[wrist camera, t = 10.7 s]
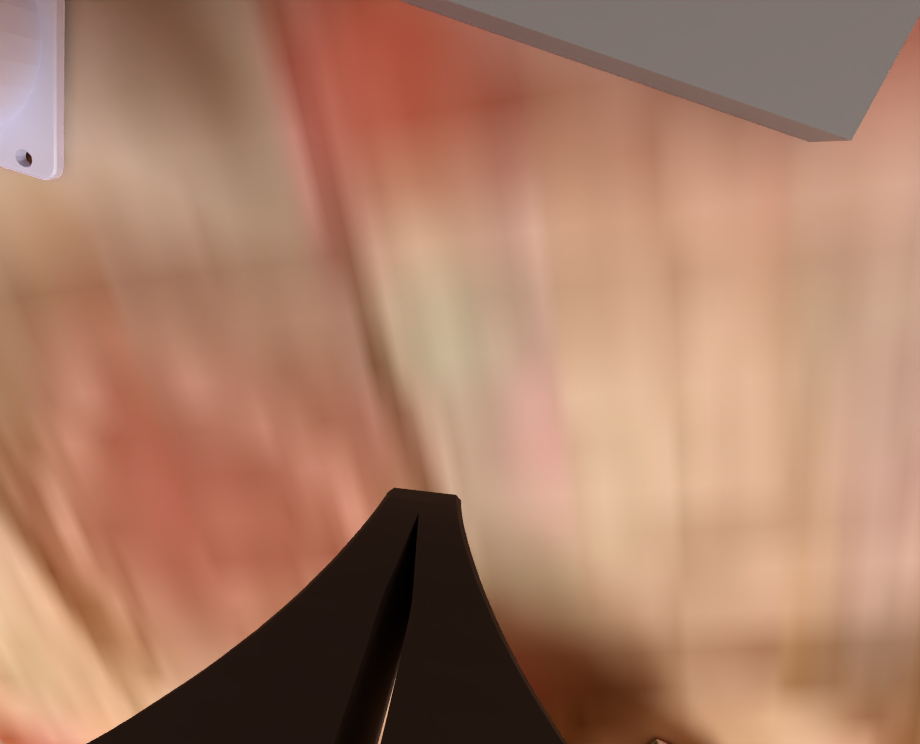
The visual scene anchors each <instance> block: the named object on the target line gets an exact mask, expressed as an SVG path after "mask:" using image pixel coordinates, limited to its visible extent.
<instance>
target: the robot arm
mask: <svg viewBox="0 0 920 744" xmlns="http://www.w3.org/2000/svg"><path fill="white" fill-rule="evenodd" d="M64 41H65V0H0V167H3V168H7V169H10V170H13V171H16V172H19V173H23V174H26V175H29V176H32V177H35V178H38V179H43V180H54V179H57V178H59V177H60V176H61V175H62V174H63V169H64ZM27 152H28V153H29V154H30V155H31V157H32V164H31V165H30V164H29V162H28V161H27V159H26V153H27ZM397 670H398V671H397ZM396 674H397V675H396ZM395 678H396V680H395ZM394 681H395V684H394ZM393 685H394V689H393ZM392 689H393V693H392V698H391V702H390V707H389V711H388V715H387V719H386V723H385V728H384V732H383V736H382V740H381V744H567V743H566V741H565V740H564V738H563V737H562V735H561V734H560V732H559V730H558V729H557V727H556V726H555V724H554V723H553V721H552V720H551V718H550V716H549V715H548V713H547V712H546V710H545V709H544V707H543V706H542V704H541V702H540V701H539V699H538V698H537V696H536V694H535V693H534V691H533V689H532V687H531V686H530V684H529V682H528V680H527V679H526V677H525V675H524V673H523V671H522V670H521V668H520V666H519V664H518V662H517V660H516V658H515V657H514V655H513V653H512V651H511V649H510V647H509V645H508V643H507V641H506V639H505V637H504V635H503V633H502V631H501V629H500V626H499V624H498V622H497V620H496V618H495V615H494V613H493V611H492V608H491V606H490V604H489V601H488V599H487V596H486V594H485V591H484V589H483V586H482V584H481V581H480V578H479V575H478V572H477V569H476V566H475V564H474V561H473V558H472V555H471V551H470V548H469V545H468V541H467V537H466V533H465V529H464V524H463V519H462V511H461V500H460V499H459V498H458V497H457V495H452V494H443V493H434V492H426V491H417V490H409V489H400V488H393V489H392V490H390V491H389V492H388V493H387V494H386V496H385V497H384V499H383V500H382V502H381V503H380V505H379V506H378V507H377V509H376V510H375V511H374V512H373V514H372V515H371V516H370V518H369V519H368V520H367V521H366V523H365V524H364V525H363V526H362V527H361V529H360V530H359V531H358V532H357V533H356V534H355V536H354V537H353V538H352V539H351V540H350V541H349V542H348V543H347V545H346V546H345V547H344V548H343V549H342V550H341V551H340V552H339V554H338V555H337V556H336V557H335V558H334V559H333V560H332V561H331V562H330V563H329V564H328V565H327V566H326V567H325V568H324V569H323V570H322V571H321V572H320V573H319V574H318V575H317V576H316V577H315V578H314V579H313V580H312V581H311V582H310V583H309V584H308V585H307V586H306V587H305V588H304V589H303V590H302V591H301V592H300V593H299V594H298V595H296V596H295V597H294V598H293V599H292V600H291V601H290V602H289V603H288V604H287V605H285V606H284V607H283V608H282V609H281V610H280V611H279V612H277V613H276V614H275V615H274V616H273V617H271V618H270V619H269V620H268V621H267V622H266V623H264V624H263V625H262V626H261V627H260V628H258V629H257V630H256V631H255V632H253V633H252V634H251V635H249V636H248V637H247V638H246V639H244V640H243V641H242V642H240V643H239V644H238V645H236V646H235V647H234V648H233V649H231V650H230V651H229V652H227V653H226V654H225V655H223V656H222V657H221V658H219V659H218V660H217V661H215V662H214V663H213V664H211V665H210V666H208V667H207V668H206V669H204V670H203V671H201V672H200V673H199V674H197V675H196V676H194V677H193V678H191V679H190V680H188V681H187V682H185V683H184V684H182V685H181V686H179V687H178V688H176V689H174V690H173V691H171V692H170V693H168V694H167V695H165V696H164V697H162V698H161V699H159V700H158V701H156V702H155V703H153V704H152V705H150V706H148V707H147V708H145V709H144V710H142V711H141V712H139V713H138V714H136V715H135V716H133V717H132V718H130V719H128V720H127V721H125V722H123V723H122V724H120V725H118V726H117V727H115V728H114V729H112V730H110V731H109V732H107V733H105V734H103V735H101V736H100V737H98V738H96V739H94V740H93V741H91V742H89V743H87V744H378V741H379V737H380V733H381V730H382V726H383V722H384V718H385V715H386V711H387V707H388V704H389V700H390V696H391V692H392Z"/></svg>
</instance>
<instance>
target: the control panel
mask: <svg viewBox="0 0 920 744" xmlns="http://www.w3.org/2000/svg"><path fill="white" fill-rule="evenodd" d="M400 1H403V2H406V3H409V4H412V5H414V6H417V7H420V8H423V9H426V10H429V11H432V12H435V13H438V14H441V15H443V16H446V17H449V18H452V19H455V20H458V21H461V22H464V23H467V24H470V25H472V26H475V27H478V28H481V29H484V30H487V31H490V32H493V33H496V34H498V35H501V36H504V37H507V38H510V39H513V40H516V41H519V42H522V43H525V44H527V45H530V46H533V47H536V48H539V49H542V50H545V51H548V52H551V53H554V54H556V55H559V56H562V57H565V58H568V59H571V60H574V61H577V62H580V63H583V64H585V65H588V66H591V67H594V68H597V69H600V70H603V71H606V72H609V73H612V74H614V75H617V76H620V77H623V78H626V79H629V80H632V81H635V82H638V83H640V84H643V85H646V86H649V87H652V88H655V89H658V90H661V91H664V92H667V93H669V94H672V95H675V96H678V97H681V98H684V99H687V100H690V101H693V102H696V103H698V104H701V105H704V106H707V107H710V108H713V109H716V110H719V111H722V112H725V113H727V114H730V115H733V116H736V117H739V118H742V119H745V120H748V121H751V122H753V123H756V124H759V125H762V126H765V127H768V128H771V129H774V130H777V131H780V132H782V133H785V134H788V135H791V136H794V137H797V138H800V139H803V140H806V141H809V142H820V141H847V140H852V138H853V136H854V134H855V132H856V131H857V129H858V127H859V125H860V123H861V122H862V120H863V118H864V116H865V114H866V112H867V111H868V109H869V107H870V105H871V103H872V101H873V100H874V98H875V96H876V94H877V92H878V91H879V89H880V87H881V85H882V83H883V81H884V80H885V78H886V76H887V74H888V72H889V70H890V69H891V67H892V65H893V63H894V61H895V60H896V58H897V56H898V54H899V52H900V50H901V49H902V47H903V45H904V43H905V41H906V39H907V38H908V36H909V34H910V32H911V30H912V28H913V27H914V25H915V23H916V21H917V19H918V18H919V16H920V0H400Z"/></svg>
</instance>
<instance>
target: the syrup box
mask: <svg viewBox="0 0 920 744" xmlns="http://www.w3.org/2000/svg"><path fill="white" fill-rule="evenodd" d="M651 744H667V743H665V742H663V741H661V740H658V739H657V740H654V741H653V742H652V743H651Z"/></svg>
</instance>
